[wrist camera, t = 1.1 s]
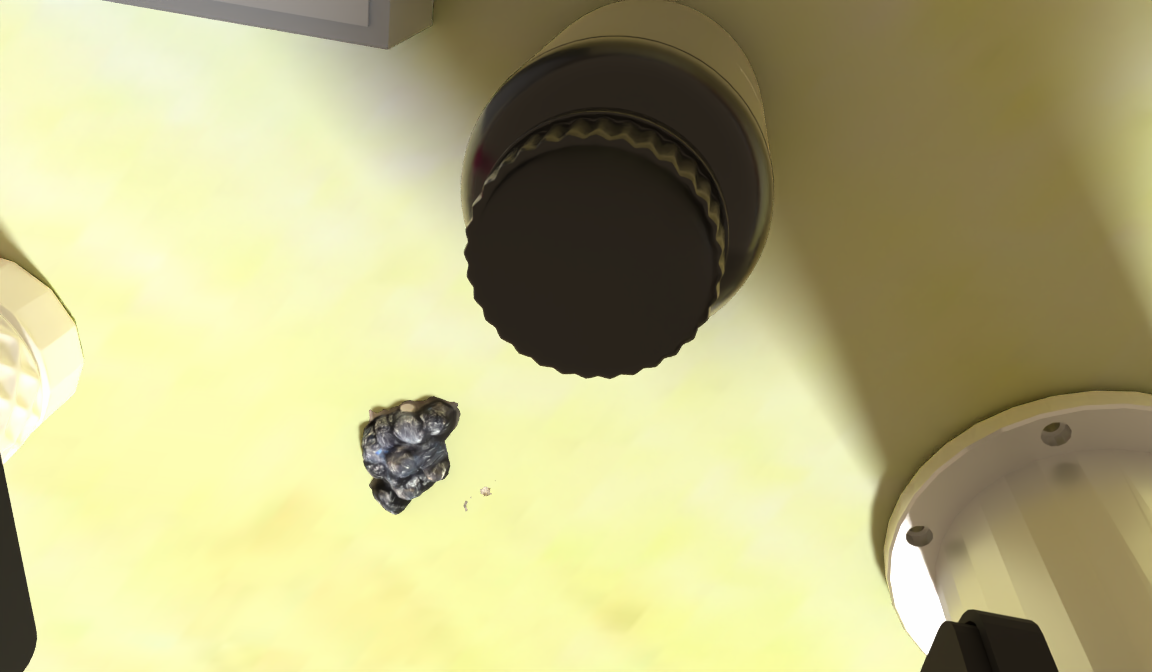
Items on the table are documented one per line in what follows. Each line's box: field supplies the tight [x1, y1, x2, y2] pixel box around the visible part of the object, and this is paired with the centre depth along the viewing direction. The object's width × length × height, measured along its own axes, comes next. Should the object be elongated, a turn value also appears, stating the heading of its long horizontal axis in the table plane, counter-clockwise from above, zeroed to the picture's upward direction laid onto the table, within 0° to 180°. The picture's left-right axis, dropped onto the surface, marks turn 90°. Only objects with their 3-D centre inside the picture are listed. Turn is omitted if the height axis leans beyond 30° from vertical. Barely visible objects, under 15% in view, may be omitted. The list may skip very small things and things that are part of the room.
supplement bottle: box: [461, 0, 774, 379], centre depth 22 cm, size 7×7×12 cm
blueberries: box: [362, 396, 492, 515], centre depth 34 cm, size 7×8×2 cm
